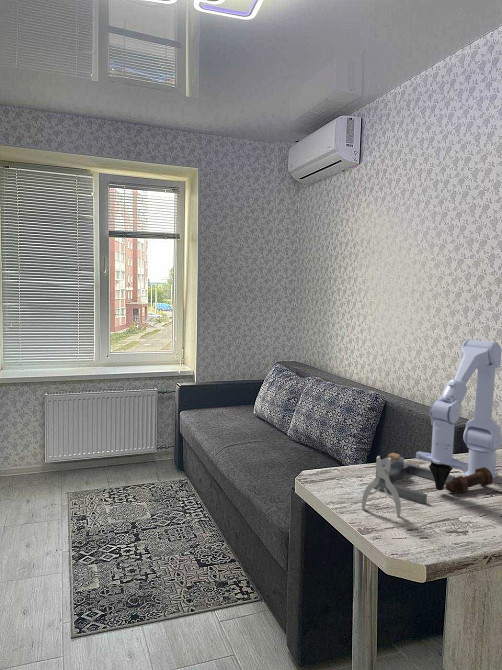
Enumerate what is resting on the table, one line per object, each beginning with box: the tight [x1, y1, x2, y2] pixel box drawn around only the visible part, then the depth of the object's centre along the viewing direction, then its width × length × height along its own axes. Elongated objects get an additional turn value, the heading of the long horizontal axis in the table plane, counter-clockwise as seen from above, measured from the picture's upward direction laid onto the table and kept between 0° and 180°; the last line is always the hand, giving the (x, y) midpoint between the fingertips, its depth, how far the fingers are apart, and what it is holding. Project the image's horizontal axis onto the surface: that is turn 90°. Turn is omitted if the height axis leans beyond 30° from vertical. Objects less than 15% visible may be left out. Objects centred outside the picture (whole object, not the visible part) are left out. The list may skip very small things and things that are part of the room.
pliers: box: [361, 455, 402, 518], centre depth 133 cm, size 10×2×15 cm, turn 64°
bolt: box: [444, 467, 494, 494], centre depth 151 cm, size 6×5×15 cm
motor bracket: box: [373, 452, 456, 505], centre depth 153 cm, size 21×18×7 cm
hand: (439, 489), depth 147 cm, fingers closed
